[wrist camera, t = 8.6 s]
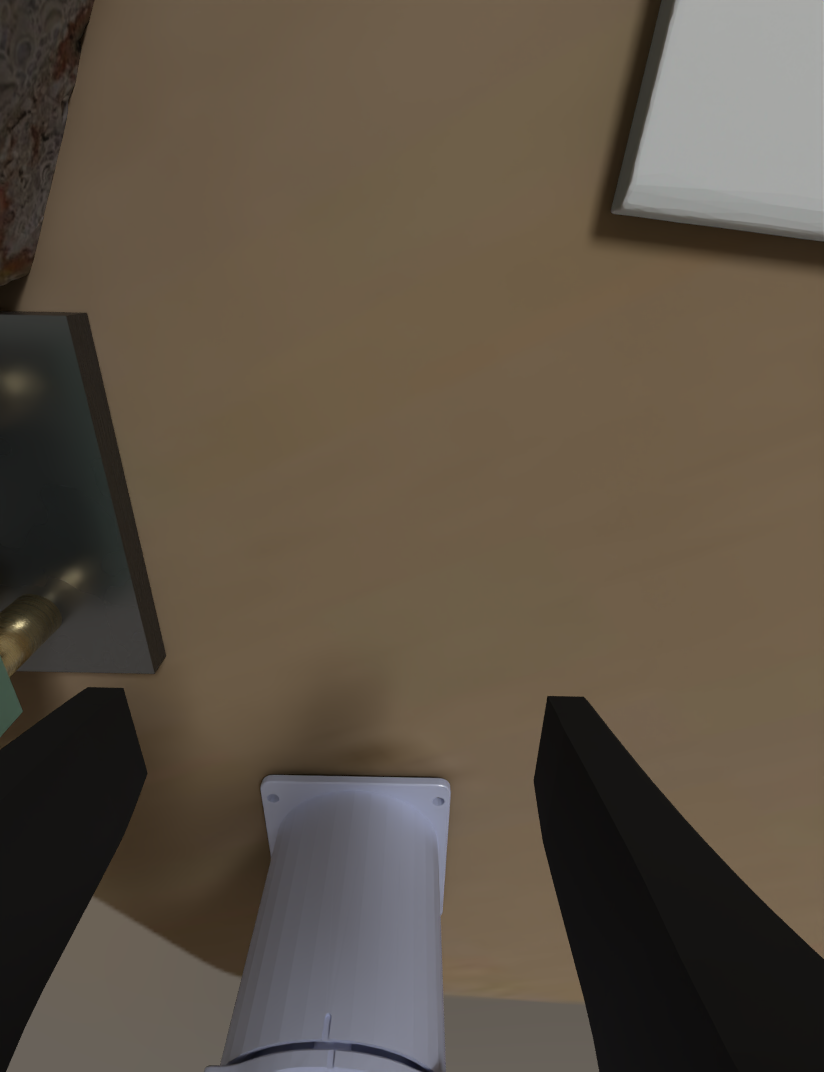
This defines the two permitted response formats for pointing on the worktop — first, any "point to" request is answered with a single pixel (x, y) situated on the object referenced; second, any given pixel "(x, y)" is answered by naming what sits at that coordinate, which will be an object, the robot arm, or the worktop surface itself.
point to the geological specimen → (33, 115)
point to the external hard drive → (731, 119)
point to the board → (7, 701)
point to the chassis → (66, 511)
